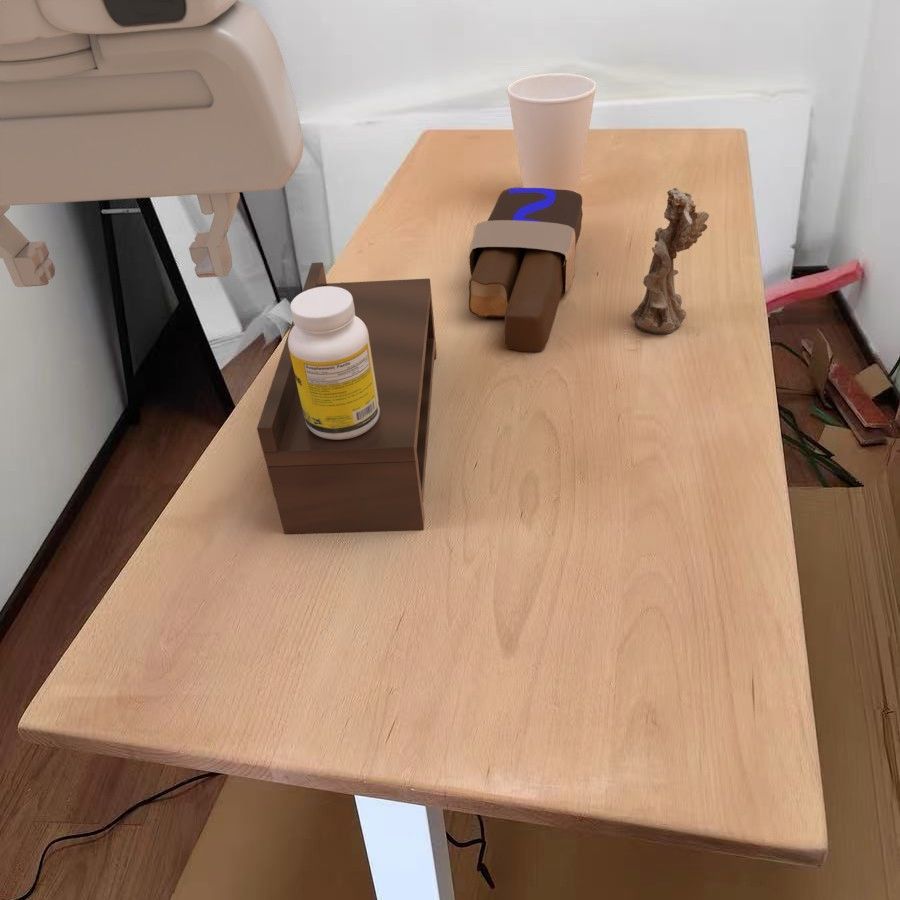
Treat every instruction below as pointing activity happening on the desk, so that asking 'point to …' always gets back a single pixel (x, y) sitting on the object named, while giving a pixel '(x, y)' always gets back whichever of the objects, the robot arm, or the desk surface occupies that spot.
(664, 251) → the figurine
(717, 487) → the desk surface
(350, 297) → the pill bottle
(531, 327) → the chocolate bar pack
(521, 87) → the cup
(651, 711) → the desk surface
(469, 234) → the desk surface
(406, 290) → the shelf
